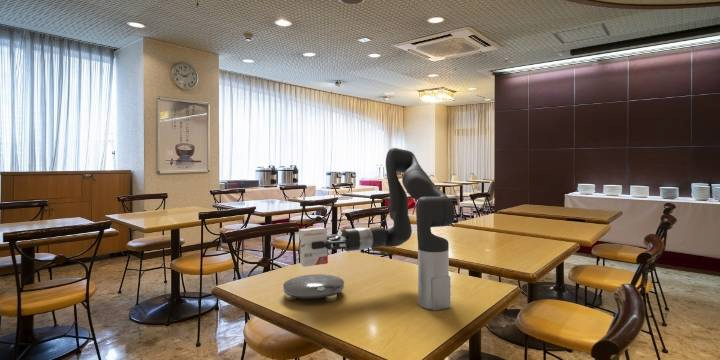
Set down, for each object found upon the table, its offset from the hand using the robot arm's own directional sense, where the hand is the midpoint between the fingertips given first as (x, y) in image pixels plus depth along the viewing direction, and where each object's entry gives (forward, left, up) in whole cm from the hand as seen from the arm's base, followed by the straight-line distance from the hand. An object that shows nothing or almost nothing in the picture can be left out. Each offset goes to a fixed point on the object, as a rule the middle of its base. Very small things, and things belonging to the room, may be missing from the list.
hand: (310, 244), depth 126 cm
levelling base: (0, -1, -17) cm, 17 cm away
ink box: (0, -1, -7) cm, 7 cm away
